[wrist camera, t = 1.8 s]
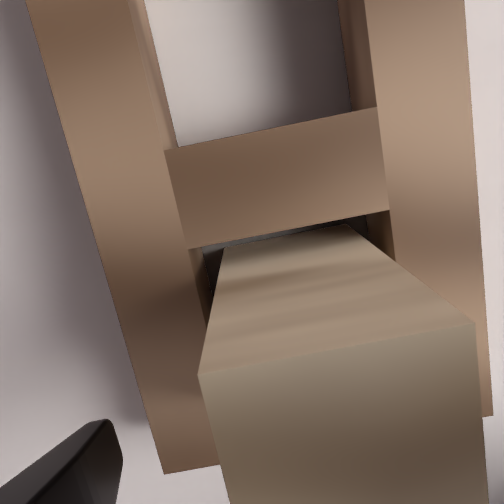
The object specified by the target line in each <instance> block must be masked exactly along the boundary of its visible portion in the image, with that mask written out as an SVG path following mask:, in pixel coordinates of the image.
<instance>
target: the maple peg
mask: <svg viewBox="0 0 504 504" xmlns="http://www.w3.org/2000/svg"><path fill="white" fill-rule="evenodd" d="M197 375H198V379H199V383H200V387H201V391H202V395H203V399H204V403H205V406H206V410H207V414H208V418H209V422H210V426H211V430H212V434H213V438H214V442H215V446H216V450H217V454H218V458H219V462H220V466H221V469H222V473H223V477H224V481H225V485H226V489H227V493H228V497H229V501H230V504H489V498H488V485H487V472H486V459H485V446H484V433H483V420H482V407H481V394H480V381H479V368H478V355H477V342H476V329H475V322H473V321H472V320H471V319H469V318H468V317H467V316H465V315H464V314H463V313H461V312H460V311H459V310H458V309H456V308H455V307H454V306H452V305H451V304H450V303H448V302H447V301H446V300H445V299H443V298H442V297H441V296H439V295H438V294H437V293H435V292H434V291H433V290H431V289H430V288H429V287H428V286H426V285H425V284H424V283H422V282H421V281H420V280H418V279H417V278H416V277H415V276H413V275H412V274H411V273H409V272H408V271H407V270H405V269H404V268H403V267H401V266H400V265H399V264H398V263H396V262H395V261H394V260H392V259H391V258H390V257H388V256H387V255H386V254H385V253H383V252H382V251H381V250H379V249H378V248H377V247H375V246H374V245H373V244H372V243H370V242H369V241H368V240H366V239H365V238H364V237H362V236H361V235H360V234H358V233H357V232H356V231H355V230H353V229H352V228H351V227H349V226H348V225H347V224H342V225H337V226H332V227H327V228H321V229H316V230H311V231H306V232H301V233H296V234H291V235H286V236H281V237H276V238H271V239H265V240H260V241H255V242H250V243H245V244H240V245H235V246H230V247H225V248H224V252H223V257H222V261H221V266H220V271H219V276H218V280H217V285H216V290H215V294H214V299H213V304H212V309H211V313H210V318H209V323H208V327H207V332H206V337H205V341H204V346H203V351H202V356H201V360H200V365H199V370H198V374H197Z"/></svg>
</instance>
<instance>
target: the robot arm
mask: <svg viewBox="0 0 504 504" xmlns="http://www.w3.org/2000/svg"><path fill="white" fill-rule="evenodd" d="M122 466H123V456H122V451H121V448H120V445H119V442H118V439H117V436H116V432H115V429H114V426H113V424H112V422H111V421H110V420H108V419H103V420H97V421H92V422H89V423H87V424H86V425H84V426H83V427H82V428H80V429H79V430H78V431H76V432H75V433H73V434H72V435H71V436H69V437H68V438H67V439H65V440H64V441H63V442H61V443H60V444H59V445H57V446H56V447H55V448H53V449H52V450H50V451H49V452H48V453H46V454H45V455H44V456H42V457H41V458H40V459H38V460H37V461H36V462H34V463H33V464H32V465H30V466H29V467H27V468H26V469H25V470H23V471H22V472H21V473H19V474H18V475H17V476H15V477H14V478H13V479H11V480H10V481H9V482H7V483H6V484H5V485H3V486H2V487H0V504H116V499H117V494H118V488H119V483H120V477H121V472H122Z"/></svg>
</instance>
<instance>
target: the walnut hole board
mask: <svg viewBox="0 0 504 504" xmlns="http://www.w3.org/2000/svg"><path fill="white" fill-rule="evenodd" d="M25 1H26V5H27V8H28V12H29V15H30V18H31V22H32V25H33V29H34V32H35V35H36V39H37V42H38V46H39V49H40V52H41V56H42V59H43V63H44V66H45V70H46V73H47V76H48V80H49V83H50V87H51V90H52V93H53V97H54V100H55V104H56V107H57V111H58V114H59V117H60V121H61V124H62V128H63V131H64V134H65V138H66V141H67V145H68V148H69V152H70V155H71V158H72V162H73V165H74V169H75V172H76V175H77V179H78V182H79V186H80V189H81V192H82V196H83V199H84V203H85V206H86V210H87V213H88V216H89V220H90V223H91V227H92V230H93V233H94V237H95V240H96V244H97V247H98V251H99V254H100V257H101V261H102V264H103V268H104V271H105V274H106V278H107V281H108V285H109V288H110V292H111V295H112V298H113V302H114V305H115V309H116V312H117V315H118V319H119V322H120V326H121V329H122V332H123V336H124V339H125V343H126V346H127V350H128V353H129V356H130V360H131V363H132V367H133V370H134V373H135V377H136V380H137V384H138V387H139V391H140V394H141V397H142V401H143V404H144V408H145V411H146V414H147V418H148V421H149V425H150V428H151V432H152V435H153V438H154V442H155V445H156V449H157V452H158V455H159V459H160V462H161V466H162V469H163V472H164V474H170V473H175V472H181V471H186V470H192V469H198V468H203V467H209V466H214V465H220V462H219V458H218V454H217V450H216V446H215V442H214V438H213V434H212V430H211V426H210V422H209V418H208V414H207V410H206V406H205V403H204V399H203V395H202V391H201V387H200V383H199V379H198V375H197V374H198V370H199V365H200V360H201V356H202V351H203V346H204V341H205V337H206V332H207V327H208V323H209V318H210V313H211V309H212V304H213V295H212V291H211V287H210V282H209V278H208V274H207V270H206V265H205V261H204V257H203V252H202V248H201V247H202V246H207V245H213V244H218V243H223V242H228V241H233V240H238V239H243V238H248V237H253V236H258V235H263V234H268V233H274V232H279V231H284V230H289V229H294V228H299V227H304V226H309V225H314V224H319V223H324V222H329V221H335V220H340V219H345V218H350V217H355V216H360V215H365V214H366V219H367V226H368V233H369V241H370V243H372V244H373V245H374V246H375V247H377V248H378V249H379V250H381V251H382V252H383V253H385V254H386V255H387V256H388V257H390V258H391V259H392V260H394V261H395V262H396V263H398V264H399V265H400V266H401V267H403V268H404V269H405V270H407V271H408V272H409V273H411V274H412V275H413V276H415V277H416V278H417V279H418V280H420V281H421V282H422V283H424V284H425V285H426V286H428V287H429V288H430V289H431V290H433V291H434V292H435V293H437V294H438V295H439V296H441V297H442V298H443V299H445V300H446V301H447V302H448V303H450V304H451V305H452V306H454V307H455V308H456V309H458V310H459V311H460V312H461V313H463V314H464V315H465V316H467V317H468V318H469V319H471V320H472V321H473V322H475V329H476V342H477V355H478V368H479V381H480V394H481V407H482V417H487V416H493V403H492V389H491V375H490V361H489V346H488V332H487V318H486V304H485V289H484V275H483V261H482V247H481V232H480V218H479V204H478V190H477V175H476V161H475V147H474V133H473V118H472V104H471V90H470V76H469V61H468V47H467V33H466V19H465V4H464V0H337V3H338V11H339V18H340V26H341V33H342V40H343V48H344V55H345V63H346V70H347V78H348V85H349V92H350V100H351V107H352V112H348V113H344V114H339V115H334V116H329V117H324V118H319V119H314V120H309V121H305V122H300V123H295V124H290V125H285V126H280V127H275V128H270V129H265V130H261V131H256V132H251V133H246V134H241V135H236V136H231V137H226V138H222V139H217V140H212V141H207V142H202V143H197V144H192V145H187V146H183V147H178V145H177V141H176V136H175V132H174V128H173V123H172V119H171V115H170V111H169V106H168V102H167V98H166V93H165V89H164V85H163V80H162V76H161V72H160V68H159V63H158V59H157V55H156V50H155V46H154V42H153V37H152V33H151V29H150V25H149V20H148V16H147V12H146V7H145V3H144V0H25Z"/></svg>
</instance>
